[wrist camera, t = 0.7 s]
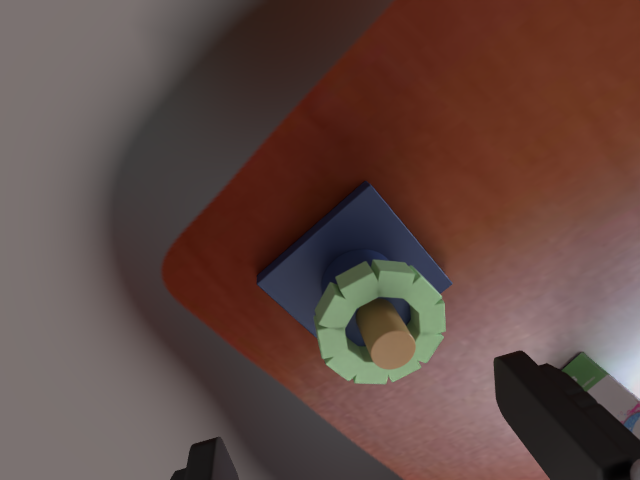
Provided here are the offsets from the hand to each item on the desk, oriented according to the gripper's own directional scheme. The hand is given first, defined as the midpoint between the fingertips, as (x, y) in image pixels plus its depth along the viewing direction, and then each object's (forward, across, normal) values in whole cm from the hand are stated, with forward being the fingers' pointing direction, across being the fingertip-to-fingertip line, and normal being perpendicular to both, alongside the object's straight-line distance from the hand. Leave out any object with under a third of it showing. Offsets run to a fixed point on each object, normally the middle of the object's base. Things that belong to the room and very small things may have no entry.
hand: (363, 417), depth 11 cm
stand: (+14, -2, +3) cm, 15 cm away
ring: (+9, -2, +3) cm, 10 cm away
